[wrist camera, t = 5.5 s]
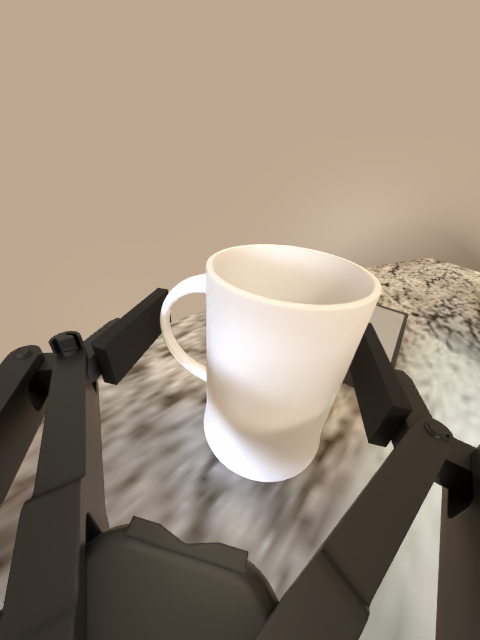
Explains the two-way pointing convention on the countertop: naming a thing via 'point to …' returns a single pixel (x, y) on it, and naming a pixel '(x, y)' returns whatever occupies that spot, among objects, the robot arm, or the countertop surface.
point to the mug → (274, 350)
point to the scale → (386, 333)
